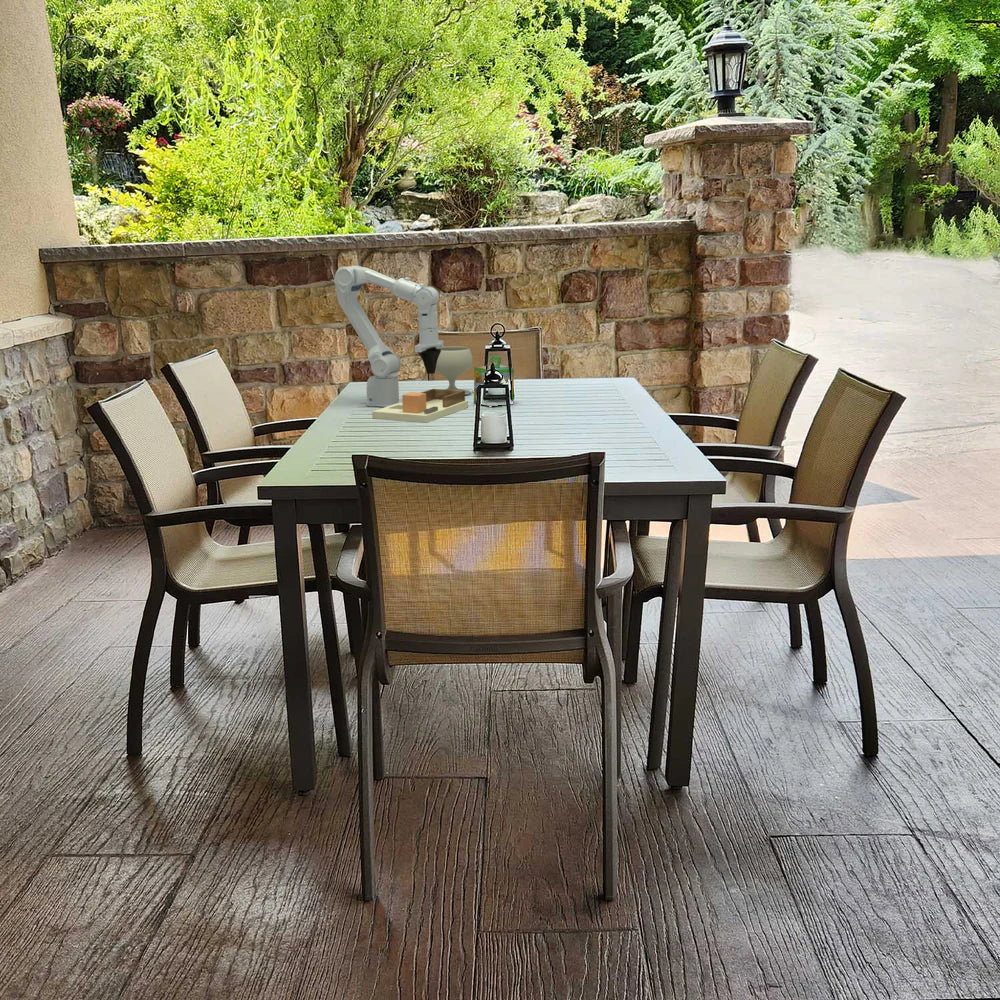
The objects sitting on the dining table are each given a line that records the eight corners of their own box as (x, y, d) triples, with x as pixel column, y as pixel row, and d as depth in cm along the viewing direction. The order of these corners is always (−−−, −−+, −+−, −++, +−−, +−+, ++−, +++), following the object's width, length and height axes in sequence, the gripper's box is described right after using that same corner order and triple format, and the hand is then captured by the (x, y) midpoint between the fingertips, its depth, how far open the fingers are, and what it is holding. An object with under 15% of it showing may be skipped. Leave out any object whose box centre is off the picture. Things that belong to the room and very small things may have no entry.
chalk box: (473, 404, 313) (472, 356, 309) (496, 400, 318) (496, 353, 314) (491, 408, 306) (490, 359, 302) (514, 404, 311) (514, 356, 307)
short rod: (424, 414, 286) (424, 409, 286) (434, 410, 291) (434, 406, 291) (427, 414, 286) (427, 410, 285) (437, 410, 291) (437, 406, 291)
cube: (402, 412, 289) (402, 395, 288) (411, 409, 294) (411, 392, 292) (418, 413, 287) (417, 396, 286) (426, 410, 292) (426, 393, 290)
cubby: (413, 405, 300) (412, 395, 300) (433, 398, 311) (433, 388, 310) (445, 407, 296) (445, 397, 295) (465, 400, 307) (464, 390, 306)
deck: (372, 418, 292) (372, 411, 291) (416, 403, 314) (416, 397, 314) (426, 422, 284) (426, 415, 284) (468, 407, 307) (467, 400, 306)
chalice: (426, 392, 335) (425, 347, 331) (467, 389, 339) (466, 345, 335) (436, 398, 322) (435, 352, 318) (478, 396, 326) (477, 349, 322)
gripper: (428, 330, 293) (430, 377, 297) (451, 325, 306) (453, 370, 310) (407, 330, 296) (410, 376, 300) (431, 325, 309) (433, 369, 313)
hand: (430, 373), depth 305 cm, fingers closed
